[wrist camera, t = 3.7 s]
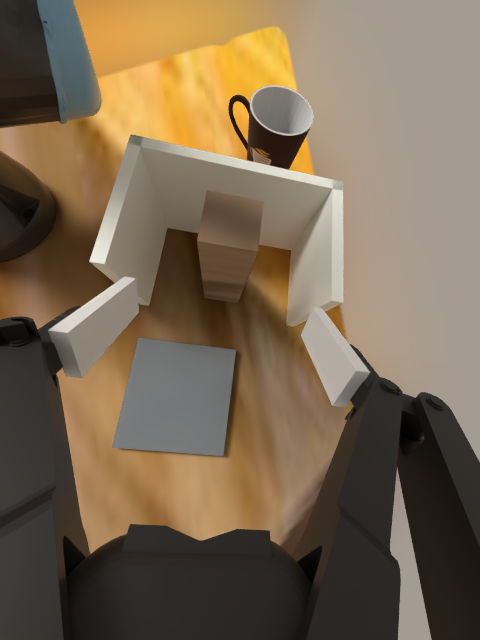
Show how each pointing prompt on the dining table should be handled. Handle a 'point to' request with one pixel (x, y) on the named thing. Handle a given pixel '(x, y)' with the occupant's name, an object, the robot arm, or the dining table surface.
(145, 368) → the coaster
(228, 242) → the walnut block
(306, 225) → the cubby
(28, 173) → the robot arm
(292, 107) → the coffee mug
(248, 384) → the dining table surface
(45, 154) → the dining table surface
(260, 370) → the dining table surface
